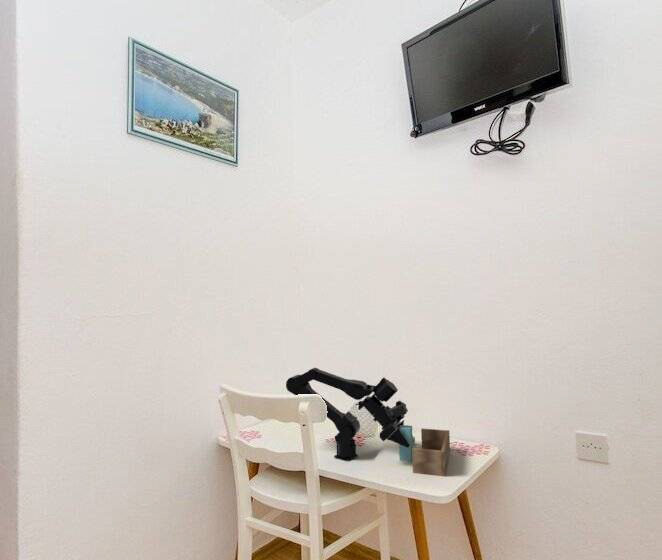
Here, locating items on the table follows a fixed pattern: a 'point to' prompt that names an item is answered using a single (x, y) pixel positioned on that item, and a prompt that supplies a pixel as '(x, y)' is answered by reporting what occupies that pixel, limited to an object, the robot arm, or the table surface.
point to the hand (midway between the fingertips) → (409, 444)
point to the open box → (432, 453)
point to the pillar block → (406, 452)
